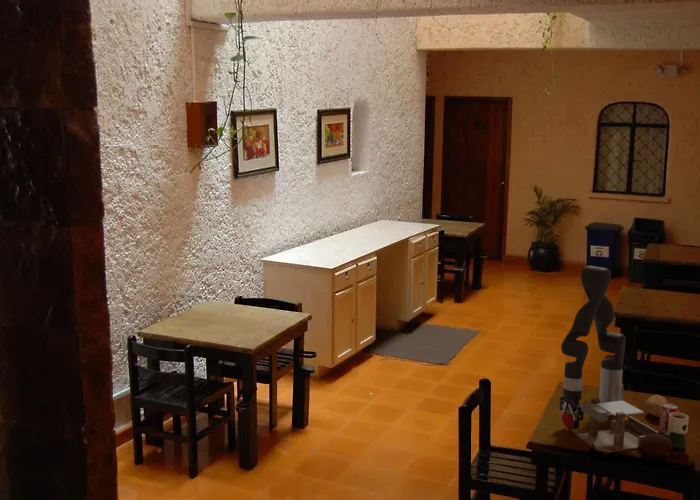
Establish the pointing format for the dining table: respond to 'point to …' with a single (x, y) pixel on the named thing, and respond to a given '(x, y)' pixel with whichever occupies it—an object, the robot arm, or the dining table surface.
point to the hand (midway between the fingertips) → (570, 425)
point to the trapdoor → (608, 409)
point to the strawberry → (568, 420)
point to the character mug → (678, 429)
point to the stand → (616, 433)
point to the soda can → (666, 417)
